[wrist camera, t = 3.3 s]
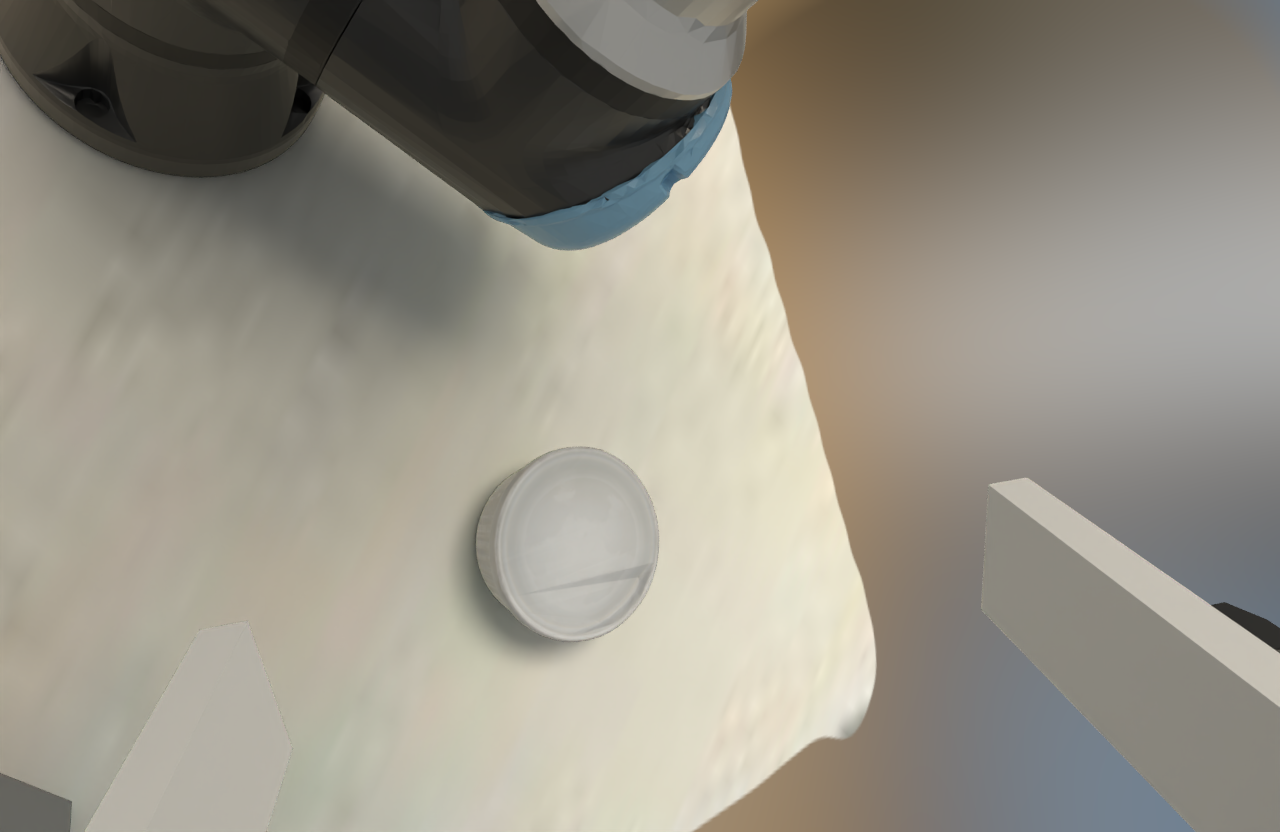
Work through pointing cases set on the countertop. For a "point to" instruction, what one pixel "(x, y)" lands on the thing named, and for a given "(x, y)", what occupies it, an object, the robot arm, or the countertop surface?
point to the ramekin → (569, 543)
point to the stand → (31, 808)
